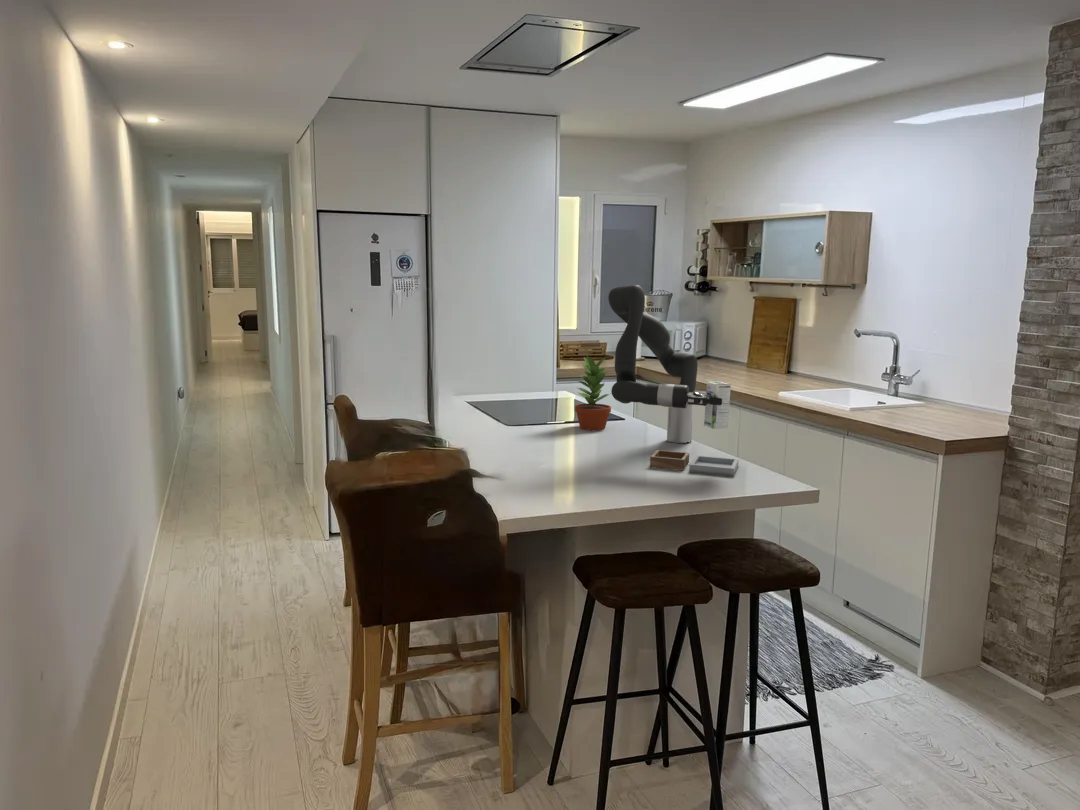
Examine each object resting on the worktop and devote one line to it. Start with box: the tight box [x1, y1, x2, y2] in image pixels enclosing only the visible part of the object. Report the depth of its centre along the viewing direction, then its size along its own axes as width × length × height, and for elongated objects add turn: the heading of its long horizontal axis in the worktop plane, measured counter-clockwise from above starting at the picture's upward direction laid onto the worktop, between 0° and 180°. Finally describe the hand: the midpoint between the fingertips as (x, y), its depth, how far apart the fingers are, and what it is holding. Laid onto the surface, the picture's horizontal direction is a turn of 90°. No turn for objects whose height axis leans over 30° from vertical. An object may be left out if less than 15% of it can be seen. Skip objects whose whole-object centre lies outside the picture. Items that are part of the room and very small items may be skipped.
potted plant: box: [574, 354, 612, 431], centre depth 326 cm, size 15×15×30 cm
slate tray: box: [688, 454, 740, 477], centre depth 264 cm, size 14×14×2 cm
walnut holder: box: [649, 449, 690, 471], centre depth 269 cm, size 11×11×4 cm
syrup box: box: [703, 380, 732, 430], centre depth 261 cm, size 6×6×14 cm
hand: (723, 399), depth 260 cm, fingers closed on syrup box, 8 cm apart
